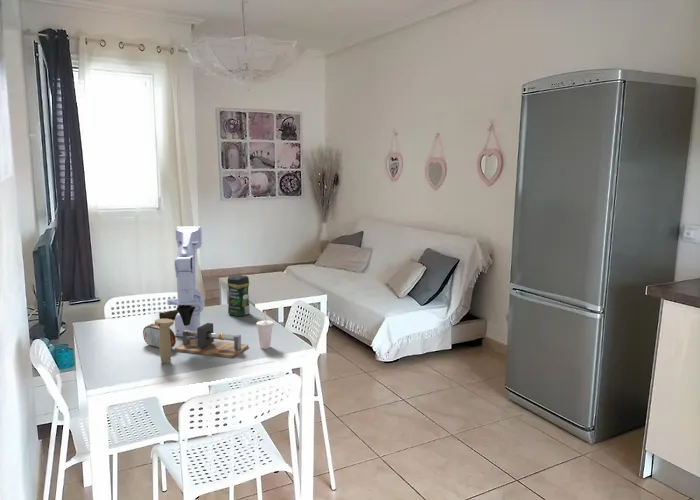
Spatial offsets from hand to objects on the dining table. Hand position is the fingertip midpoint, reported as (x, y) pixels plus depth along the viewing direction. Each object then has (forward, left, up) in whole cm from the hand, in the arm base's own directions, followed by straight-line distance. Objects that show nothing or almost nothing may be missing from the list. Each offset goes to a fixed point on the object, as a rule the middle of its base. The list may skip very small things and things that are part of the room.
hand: (186, 324), depth 199 cm
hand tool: (-29, +38, -10) cm, 49 cm away
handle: (0, -14, -10) cm, 17 cm away
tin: (-12, -1, -10) cm, 15 cm away
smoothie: (+26, +11, -10) cm, 30 cm away
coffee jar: (-5, +49, -10) cm, 50 cm away
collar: (+6, +3, -8) cm, 10 cm away
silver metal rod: (+8, +3, -9) cm, 13 cm away
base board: (+8, +3, -9) cm, 13 cm away
